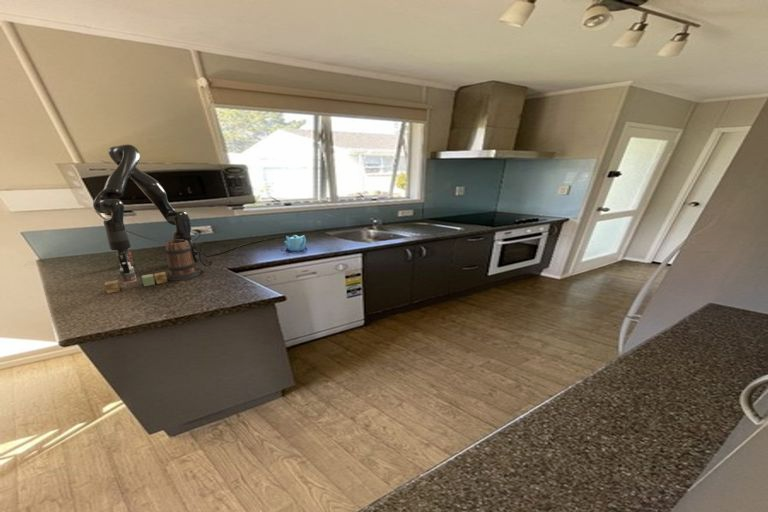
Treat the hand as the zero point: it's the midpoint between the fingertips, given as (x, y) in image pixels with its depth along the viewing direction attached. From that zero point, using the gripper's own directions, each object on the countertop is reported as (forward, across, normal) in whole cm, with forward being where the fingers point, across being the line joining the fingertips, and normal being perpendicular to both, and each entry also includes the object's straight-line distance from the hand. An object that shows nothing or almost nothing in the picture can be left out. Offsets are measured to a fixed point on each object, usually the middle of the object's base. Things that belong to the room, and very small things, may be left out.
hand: (127, 271), depth 145 cm
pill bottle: (+6, 0, 0) cm, 6 cm away
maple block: (+9, 0, -12) cm, 15 cm away
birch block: (+9, 0, +7) cm, 11 cm away
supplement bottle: (+9, +42, +3) cm, 43 cm away
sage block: (+9, 0, -7) cm, 11 cm away
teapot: (+9, +16, -95) cm, 97 cm away
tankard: (+9, +5, -26) cm, 28 cm away
